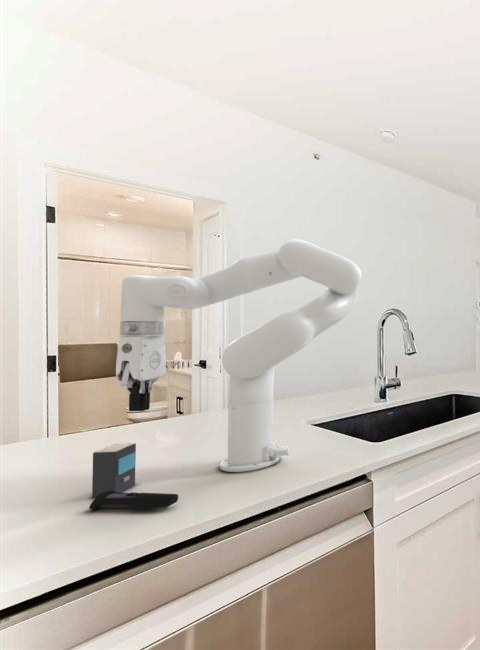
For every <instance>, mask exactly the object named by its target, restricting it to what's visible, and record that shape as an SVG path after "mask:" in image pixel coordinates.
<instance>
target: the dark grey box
mask: <svg viewBox="0 0 480 650" xmlns="http://www.w3.org/2000/svg"><path fill="white" fill-rule="evenodd" d="M136 449H137V443H136V442H131V443H114V444H112V445H111V444H110V445H109V446H106V447H104V448H102V449H99V450H96V451H94V452H93V453H92V477H91V479H92V480H91V481H92V483H91V484H92V485H91V490H92V491H91V498H94V499H95V498H96V497H97V496H98V495H99V494H101V493H104V492H108V491H115V492H118V493H124V492H125V491H126V490H128V489H130V488H132V487H134V486H135V485H136V456H137V454H136V451H137V450H136Z"/></svg>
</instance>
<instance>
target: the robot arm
mask: <svg viewBox="0 0 480 650" xmlns="http://www.w3.org/2000/svg"><path fill="white" fill-rule="evenodd" d="M298 278H305V279H307V280H310V281H312V282H314V283H317V284H319V285H322V286H325V287H326V289H325V291H324V292H323V293H322V294H321V295H319V296H316V297H315V298H313V299H311V300H310V301H309V302H307V303H306V304H303V305H302V306H300V307H298V308H296V309H294V310H292V311H288V312H283V313H281V314H279V315H277V316H276V317H275V316H274V318H272V319H270V320H268V321H266V322H265V323H263V324H261V325H259V326H258V327H256V328H254V329H253V330H250V331H249V332H247V333H246V334H243V335H242V336H240V337H238V338H237V339H235V340H233V341H232V342H230V343H229V344H228V345H227V346H226V348H225V349H224V351H223V353H222V357H221V364H222V367H223V369H224V371H225V372H226V374H228V375H229V381H228V383H229V384H228V406H227V408H228V411H227V414H228V415H227V457H226V458H225V459H223V460H222V461H220V462H219V469H220V470H221V471H223V472H227V473H228V472H229V473H243V472H251V471H257V470H260V469H261V470H262V469H264V468H268V467H270V466H272V465H274V464H276V463H278V462H279V461H280V457H285V456H290V454H291V447H289V446H288V445H282V446H279V445H277V443H278V442H277V440H274V438H273V435H274V434H273V433H274V391H275V387H274V386H275V381H274V380H275V367H276V366H277V365H279V364H280V363H282V362H283V361H285V360H287V359H289V358H290V357H292V356H293V355H295V354H297V353H298V352H300V351H301V350H303V349H304V348H305V347H306V346H307V345H308V344H310V342H311V341H312V340H313V339H314V338H316V337H318V336H320V335H321V334H323V333H324V332H326V331H327V330H329V329H330V328H332V327H333V326H335V325H337V324H338V323H339V322H341V321H342V320H343V319H345V318H346V317H347V316H348V315H350V313H351V312H352V311H353V308H354V307H356V304H357V301H358V298H359V292H360V288H359V287H360V283H361V281H362V272H361V269H360V267H359V266H358V264H357V263H355V262H354V261H352V260H351V259H350V258H347V257H345V256H342V255H340V254H338V253H335V252H332V251H330V250H328V249H325V248H323V247H321V246H319V245H317V244H313V243H312V242H309V241H307V240H304V239H299V238H294V239H288V240H287V241H285V242H284V243H282V245H281V246H280V247H277V248H274V249H270V250H266V251H263V252H259V253H254V254H252V255H248V256H244V257H241V258H239V259H237V260H236V261H235V262H234V263H232V264H231V265H230V266H228V267H226V268H224V269H222V270H219V271H216V272H212V273H209V274H205V275H202V276H197V277H193V278H192V277H188V276H183V275H174V276H154V275H153V276H152V275H136V274H135V275H134V274H133V275H127V276H125V277H124V278H122V281H121V296H120V297H121V298H120V318H119V319H120V322H119V337H120V338H119V342H118V346H117V353H116V362H115V377H116V379H117V380H118V381H119V382H120V388H124V389H127V394H128V395H129V397H128V412H144V411H149V410H150V408H151V407H150V403H151V392H152V390H153V384H154V383H156V382H157V381H158V380H159V378H162V377H164V376H166V373H167V351H166V342H165V336H164V327H165V325H164V323H165V307H166V308H173V309H181V310H186V309H188V310H196V309H200V308H204V307H208V306H211V305H214V304H217V303H220V302H224V301H227V300H230V299H233V298H236V297H240V296H242V295H246V294H250V293H253V292H255V291H259V290H262V289H266V288H269V287H271V286H274V285H275V286H276V285H277V284H280V283H284V282H288V281H292V280H296V279H298Z"/></svg>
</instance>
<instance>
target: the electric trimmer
mask: <svg viewBox="0 0 480 650" xmlns="http://www.w3.org/2000/svg"><path fill="white" fill-rule="evenodd" d="M178 500H179V494H178V493H163V492H162V493H160V492H156V493H155V492H133V491H131V492H121V493H118V492H115V491H108V492H104V493H101V494H99V495H98V496H97V497H94V499H93V500H92V502H90V505H89V506H88V509H89V510H91V511H92V512H93V511H98V510H100V509H131V510H132V511H140V510H151V509H164V508H168V507H171V506H172V505H174V504H176V503H177V502H178Z"/></svg>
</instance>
